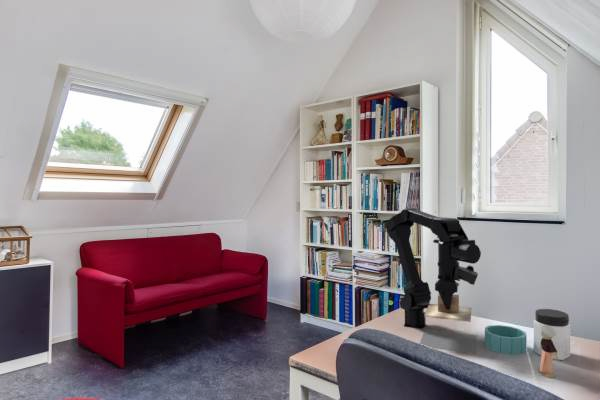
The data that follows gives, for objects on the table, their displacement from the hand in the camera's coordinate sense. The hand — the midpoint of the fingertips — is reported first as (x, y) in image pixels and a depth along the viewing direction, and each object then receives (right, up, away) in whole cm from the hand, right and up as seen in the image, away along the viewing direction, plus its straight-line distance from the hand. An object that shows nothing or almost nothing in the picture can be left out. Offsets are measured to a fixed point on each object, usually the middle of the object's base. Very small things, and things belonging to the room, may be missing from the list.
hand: (448, 307), depth 126 cm
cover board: (0, -2, 0) cm, 2 cm away
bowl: (+15, -11, -5) cm, 19 cm away
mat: (0, -11, 0) cm, 11 cm away
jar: (+26, -11, -10) cm, 30 cm away
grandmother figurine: (+17, -11, -23) cm, 31 cm away
